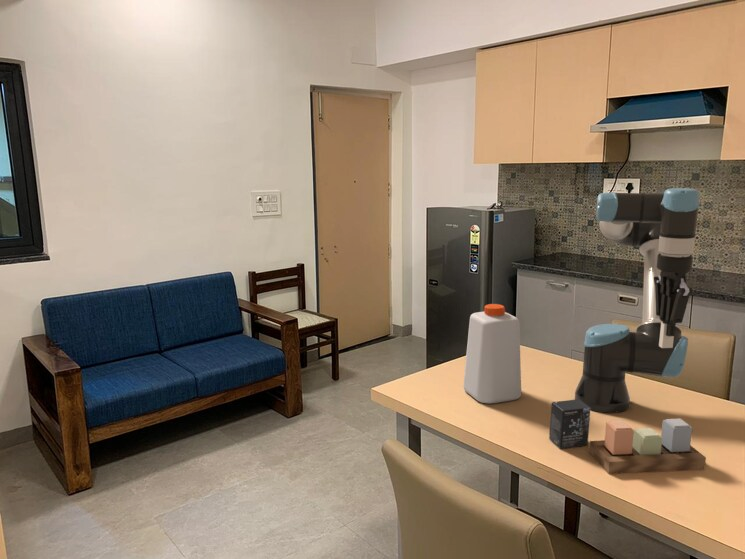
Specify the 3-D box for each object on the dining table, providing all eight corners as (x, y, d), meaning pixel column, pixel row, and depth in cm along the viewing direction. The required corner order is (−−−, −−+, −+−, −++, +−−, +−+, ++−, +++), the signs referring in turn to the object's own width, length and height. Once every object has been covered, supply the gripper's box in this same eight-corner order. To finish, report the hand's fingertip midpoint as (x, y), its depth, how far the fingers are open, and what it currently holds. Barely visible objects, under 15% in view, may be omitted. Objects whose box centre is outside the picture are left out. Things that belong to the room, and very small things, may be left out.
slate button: (671, 452, 135) (673, 426, 134) (660, 442, 139) (663, 418, 138) (689, 451, 135) (692, 426, 134) (678, 442, 140) (681, 417, 138)
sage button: (641, 461, 135) (643, 436, 134) (631, 452, 139) (633, 427, 138) (659, 460, 135) (662, 435, 134) (649, 451, 140) (651, 427, 138)
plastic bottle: (500, 381, 187) (503, 298, 181) (526, 399, 173) (531, 309, 167) (458, 388, 182) (460, 302, 176) (482, 407, 168) (484, 314, 162)
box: (560, 450, 143) (562, 410, 141) (548, 439, 148) (550, 401, 146) (588, 446, 145) (591, 407, 142) (575, 435, 150) (578, 398, 148)
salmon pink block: (613, 454, 134) (615, 429, 133) (604, 445, 138) (606, 420, 137) (631, 453, 134) (634, 428, 133) (622, 444, 139) (624, 419, 137)
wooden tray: (608, 473, 132) (609, 461, 131) (589, 452, 142) (590, 440, 141) (704, 469, 133) (705, 457, 133) (679, 448, 143) (680, 437, 143)
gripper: (707, 258, 131) (696, 355, 137) (675, 248, 144) (666, 337, 149) (675, 259, 131) (665, 357, 136) (646, 249, 143) (637, 338, 149)
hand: (665, 346), depth 143 cm, fingers closed
